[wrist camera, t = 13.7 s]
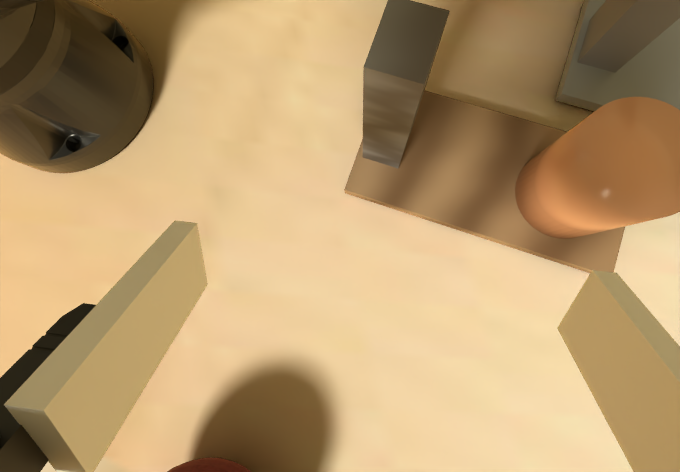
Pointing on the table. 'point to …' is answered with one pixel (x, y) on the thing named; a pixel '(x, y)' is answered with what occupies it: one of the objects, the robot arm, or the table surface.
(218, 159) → the table surface
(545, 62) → the table surface
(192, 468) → the decorative ball
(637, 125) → the peach capsule shape
